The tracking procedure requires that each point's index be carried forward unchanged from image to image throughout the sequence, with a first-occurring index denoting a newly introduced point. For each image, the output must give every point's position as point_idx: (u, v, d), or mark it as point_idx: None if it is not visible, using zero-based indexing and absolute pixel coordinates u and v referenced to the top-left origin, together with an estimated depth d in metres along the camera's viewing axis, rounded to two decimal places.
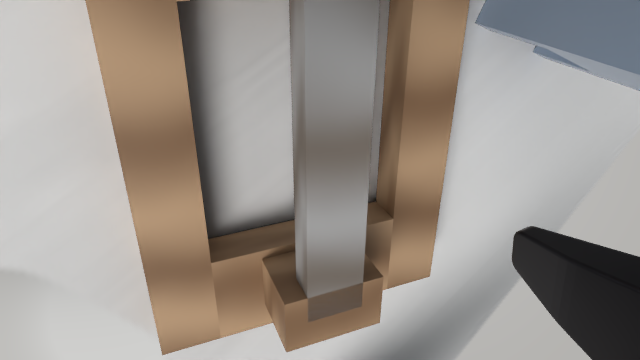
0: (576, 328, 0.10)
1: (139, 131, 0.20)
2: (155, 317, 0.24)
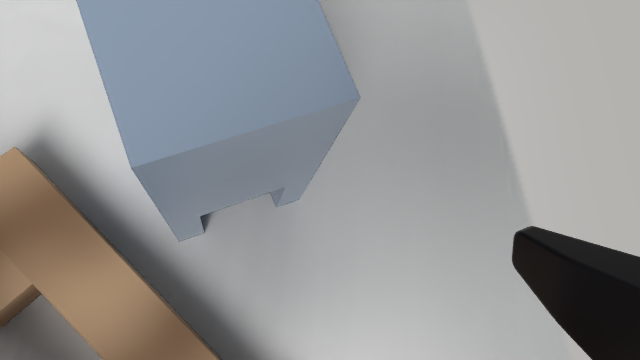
0: (576, 328, 0.10)
1: None
2: None
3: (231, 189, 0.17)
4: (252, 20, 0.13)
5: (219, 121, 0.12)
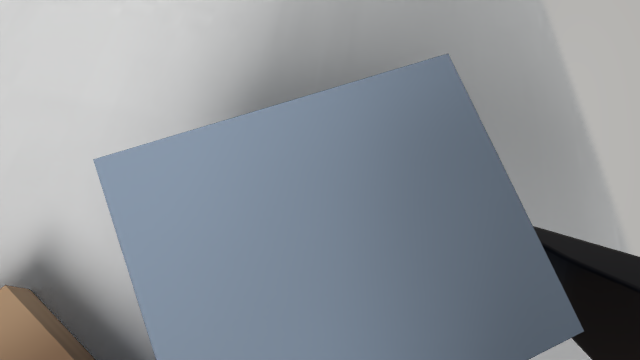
0: None
1: None
2: None
3: None
4: (397, 199, 0.08)
5: None
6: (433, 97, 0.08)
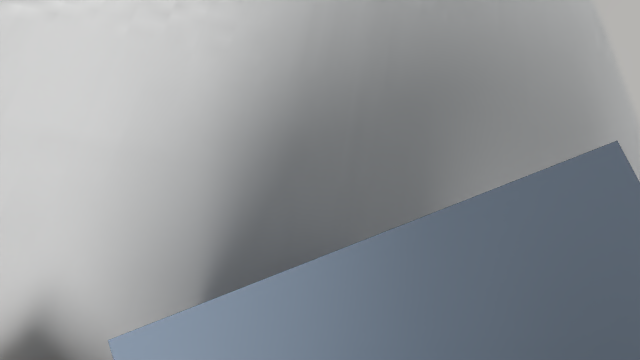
0: None
1: None
2: None
3: None
4: None
5: None
6: (604, 210, 0.06)
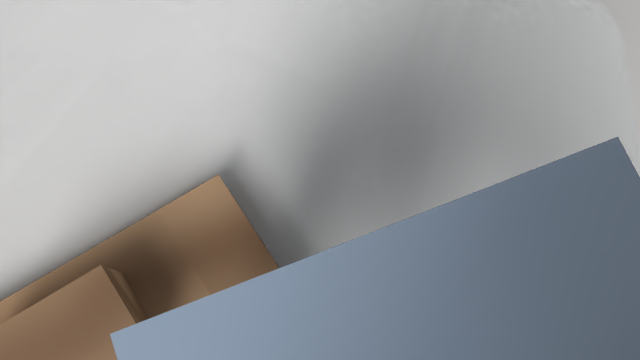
0: None
1: None
2: None
3: None
4: None
5: None
6: (604, 205, 0.06)
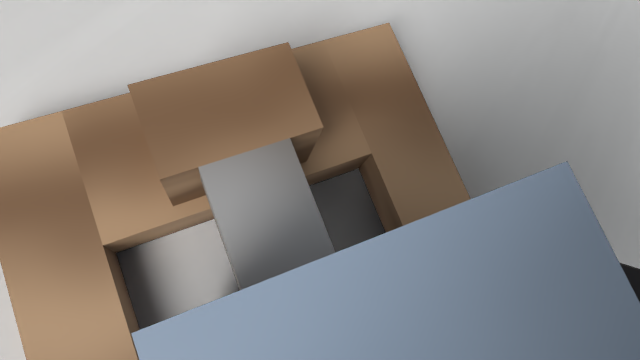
0: None
1: None
2: None
3: None
4: None
5: None
6: (554, 221, 0.07)
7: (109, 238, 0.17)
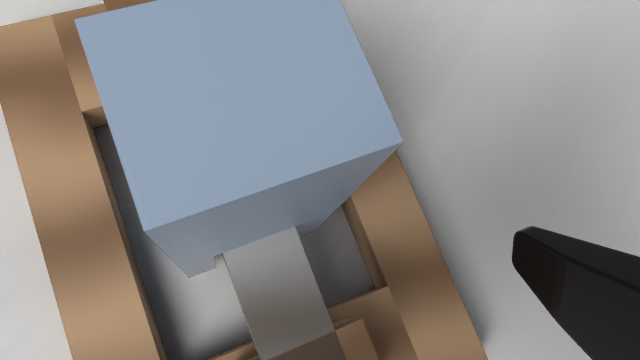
0: (576, 328, 0.10)
1: (61, 228, 0.21)
2: None
3: (250, 232, 0.16)
4: (279, 54, 0.12)
5: (244, 173, 0.11)
6: None
7: (86, 106, 0.22)
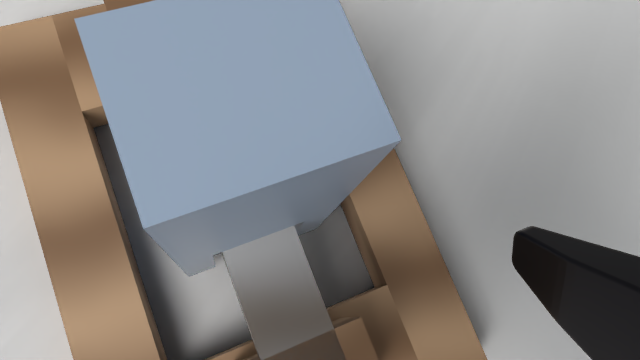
0: (576, 328, 0.10)
1: (61, 227, 0.21)
2: None
3: (249, 230, 0.16)
4: (278, 53, 0.12)
5: (243, 171, 0.11)
6: None
7: (86, 106, 0.22)
